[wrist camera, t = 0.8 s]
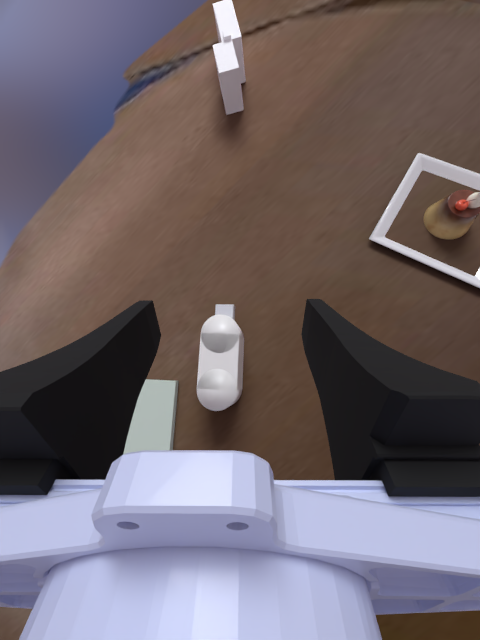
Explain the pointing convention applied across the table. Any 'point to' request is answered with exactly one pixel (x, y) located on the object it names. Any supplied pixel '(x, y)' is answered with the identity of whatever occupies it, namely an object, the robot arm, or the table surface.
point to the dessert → (436, 212)
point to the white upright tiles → (229, 56)
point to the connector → (220, 360)
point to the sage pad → (153, 417)
